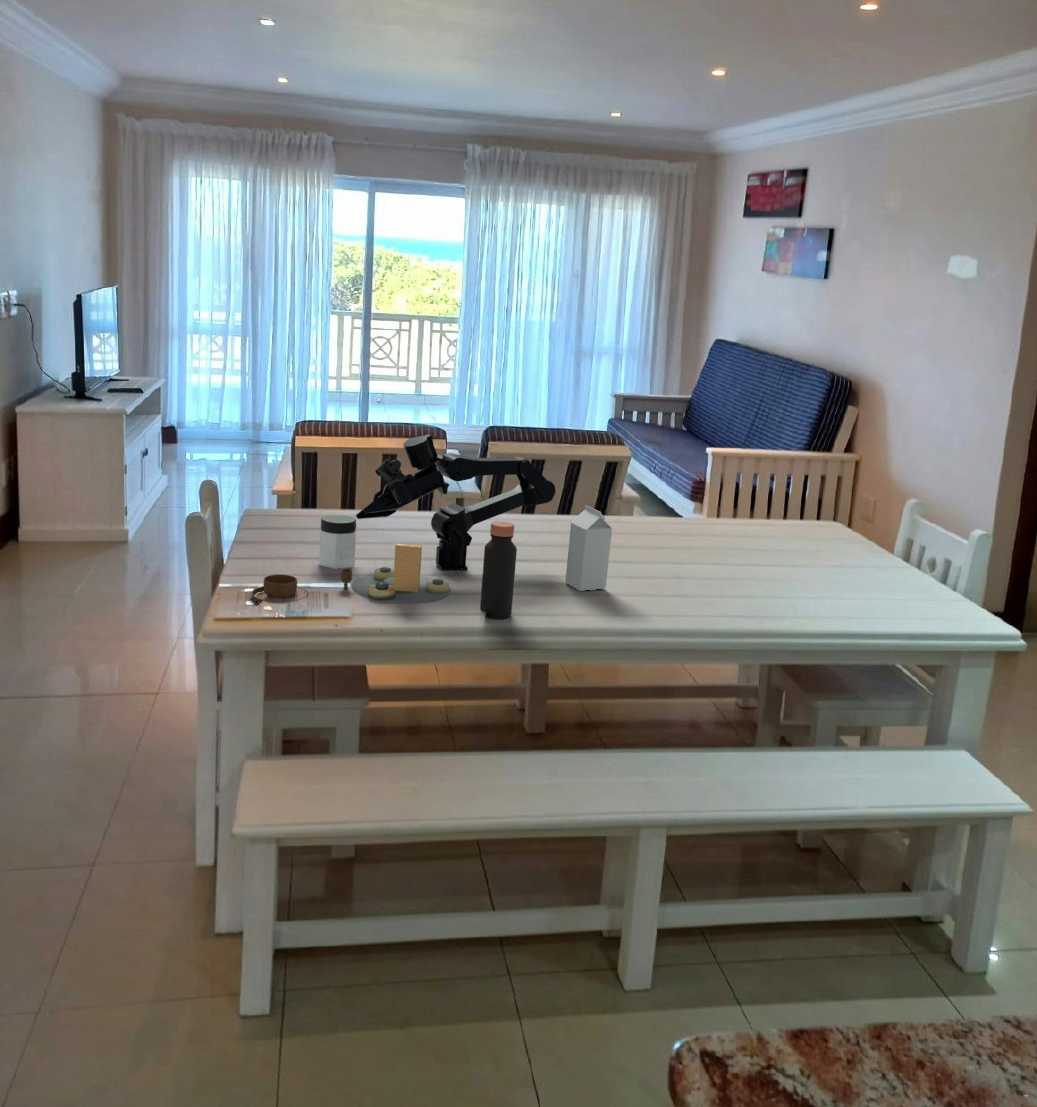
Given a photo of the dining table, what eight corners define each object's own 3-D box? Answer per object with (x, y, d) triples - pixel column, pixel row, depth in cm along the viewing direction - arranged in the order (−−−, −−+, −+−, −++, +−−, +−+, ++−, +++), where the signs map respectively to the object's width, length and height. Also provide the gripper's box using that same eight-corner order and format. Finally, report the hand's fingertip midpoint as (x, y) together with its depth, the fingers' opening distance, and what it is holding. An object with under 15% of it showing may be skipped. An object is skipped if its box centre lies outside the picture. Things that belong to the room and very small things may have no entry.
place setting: (263, 586, 240) (264, 560, 238) (353, 594, 239) (354, 568, 238) (240, 610, 223) (241, 583, 221) (337, 619, 223) (338, 592, 221)
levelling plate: (436, 577, 255) (437, 563, 254) (462, 607, 235) (463, 592, 234) (343, 579, 248) (343, 565, 247) (361, 610, 228) (361, 594, 227)
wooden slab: (365, 598, 231) (367, 545, 228) (370, 589, 237) (372, 538, 234) (416, 602, 231) (419, 550, 228) (420, 594, 236) (423, 543, 233)
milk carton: (579, 592, 253) (587, 512, 248) (564, 583, 259) (572, 505, 254) (605, 590, 256) (614, 511, 251) (590, 581, 262) (598, 504, 257)
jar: (326, 574, 250) (328, 524, 247) (312, 565, 256) (313, 515, 253) (361, 571, 255) (363, 521, 252) (347, 561, 261) (349, 513, 258)
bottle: (489, 621, 228) (497, 528, 222) (473, 611, 233) (480, 520, 228) (517, 617, 231) (524, 526, 226) (500, 608, 237) (508, 519, 231)
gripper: (393, 461, 263) (336, 489, 257) (411, 446, 245) (351, 475, 240) (415, 502, 263) (359, 531, 258) (434, 489, 246) (374, 520, 241)
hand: (360, 514), depth 249 cm, fingers open, 9 cm apart
